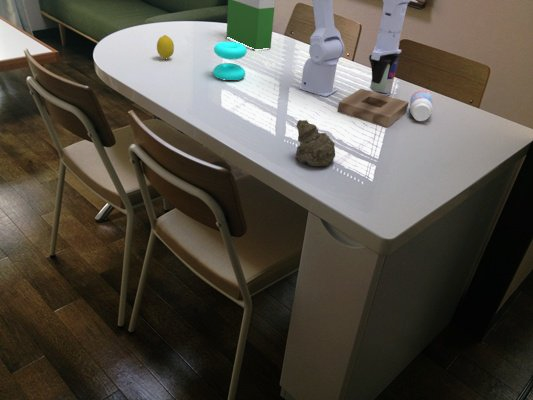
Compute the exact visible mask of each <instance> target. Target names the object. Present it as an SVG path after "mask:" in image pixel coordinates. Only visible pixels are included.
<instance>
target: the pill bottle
mask: <svg viewBox="0 0 533 400" xmlns="http://www.w3.org/2000/svg"><path fill="white" fill-rule="evenodd" d="M409 105H410V107H409V111H410V112H409V113H410V115H411V116H412V117H413V118H414V119H415V120H416V121H417V122H424V121H427V120H428V119H429V117H430V116H431V115H432V112H433V97H432V95H431V93H430V92H429V91H427V90H425V89H420V90H416V91H415V92H414V93H412V95H411V96H410V101H409Z"/></svg>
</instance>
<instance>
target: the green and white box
mask: <svg viewBox="0 0 533 400" xmlns="http://www.w3.org/2000/svg"><path fill="white" fill-rule="evenodd" d="M275 3H276V0H227V19H226V38H227V37H230V38H232V39H234V40H236V41H238V42H240V43H243V44H245V45H247V46H249V47H252V48H254V49H263V48H272V38H273V26H274V17H275V14H274V13H275Z"/></svg>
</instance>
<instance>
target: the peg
mask: <svg viewBox="0 0 533 400" xmlns="http://www.w3.org/2000/svg"><path fill="white" fill-rule="evenodd" d="M389 68H390V65H389V64H388V66H387V68H386V70H385V72H384V75H383V78H382V80H381V82H380V84H378V83H374V82H372V80H371V82H370V86H369V89H370V91H372V92H374V91H377V92H383V91H384V90H385V85H386V81H387V76H388V72H389Z"/></svg>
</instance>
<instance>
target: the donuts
mask: <svg viewBox="0 0 533 400" xmlns="http://www.w3.org/2000/svg"><path fill="white" fill-rule="evenodd" d="M247 49H248V48H247V47H245V46H244V45H242V44H240V43H236V42H232V41H220V42H217V43H216V44H215V45H214V47H213V51H214V54H215V55H217V57H219V58H222V59H225V60H230V61H231V60H233V61H234V60H240V59H242V58H244V57H245V56H246V55H247V53H248V50H247ZM213 75H214V77H216V78H217V79H218V78H220V79H219V80H221V79H225V80H238V81H240V79H241V80H243V79H242V78H245V76H246V70H245V68H243V66H241V65H239V64H236V63H232V62H224V63H219V64H217V65H216V66H215V67H214V68H213Z"/></svg>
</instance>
